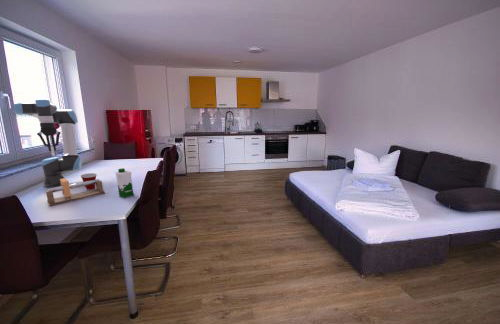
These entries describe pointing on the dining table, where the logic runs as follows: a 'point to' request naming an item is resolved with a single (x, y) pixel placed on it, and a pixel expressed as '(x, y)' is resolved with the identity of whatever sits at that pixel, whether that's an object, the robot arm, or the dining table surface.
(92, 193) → the pipe stand
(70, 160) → the robot arm
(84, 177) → the plastic cup
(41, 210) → the dining table surface
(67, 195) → the collar
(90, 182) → the steel pipe
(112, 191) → the dining table surface
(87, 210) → the dining table surface
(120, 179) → the milk carton
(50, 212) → the dining table surface
